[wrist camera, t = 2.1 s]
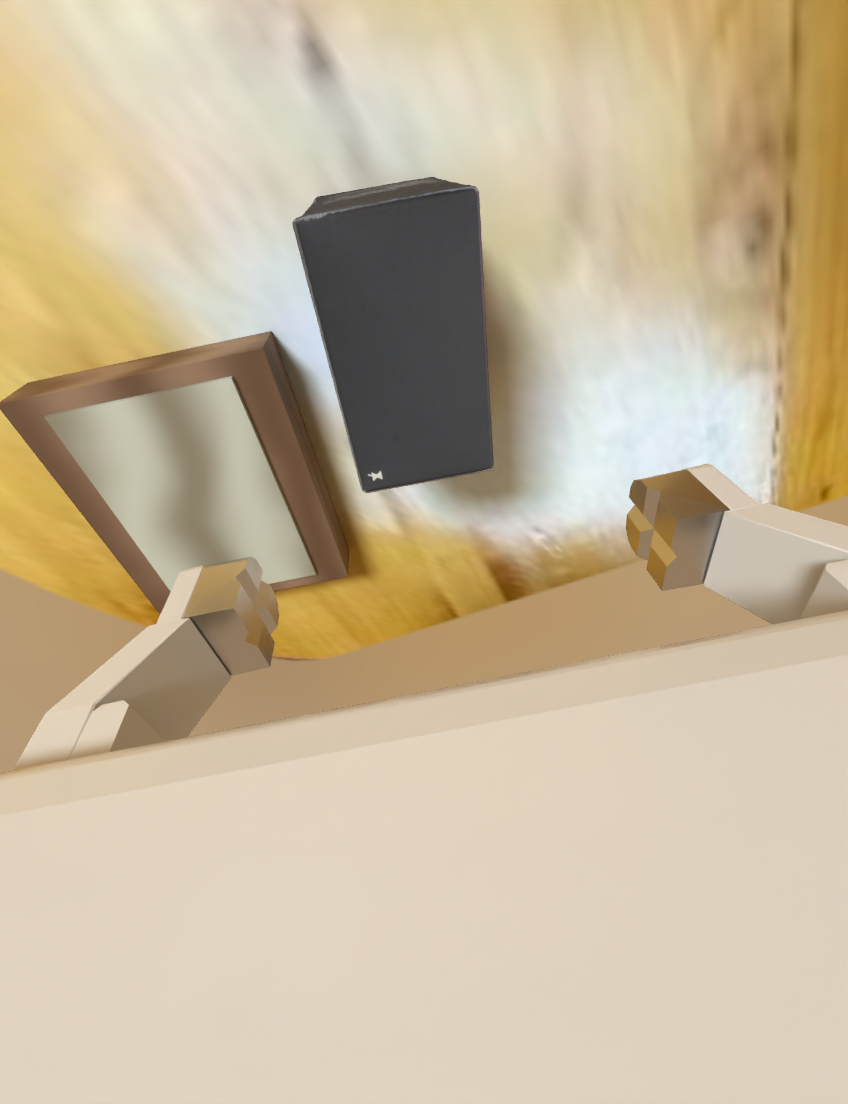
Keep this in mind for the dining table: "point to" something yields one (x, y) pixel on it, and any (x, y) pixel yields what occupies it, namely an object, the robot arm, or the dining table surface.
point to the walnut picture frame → (189, 463)
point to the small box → (403, 326)
